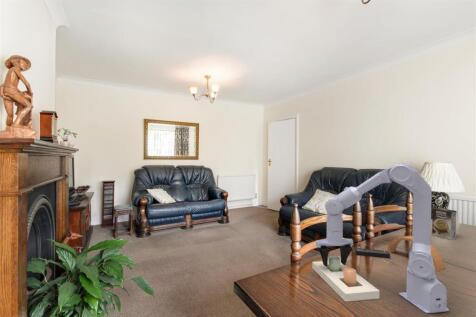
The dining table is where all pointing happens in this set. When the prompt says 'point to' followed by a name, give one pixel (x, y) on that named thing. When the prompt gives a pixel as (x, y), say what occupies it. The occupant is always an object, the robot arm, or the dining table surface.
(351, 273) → the peg terracotta
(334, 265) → the peg sage
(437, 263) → the arch
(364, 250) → the multiport hub
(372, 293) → the white flat block
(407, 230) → the dining table surface
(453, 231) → the coffee box
